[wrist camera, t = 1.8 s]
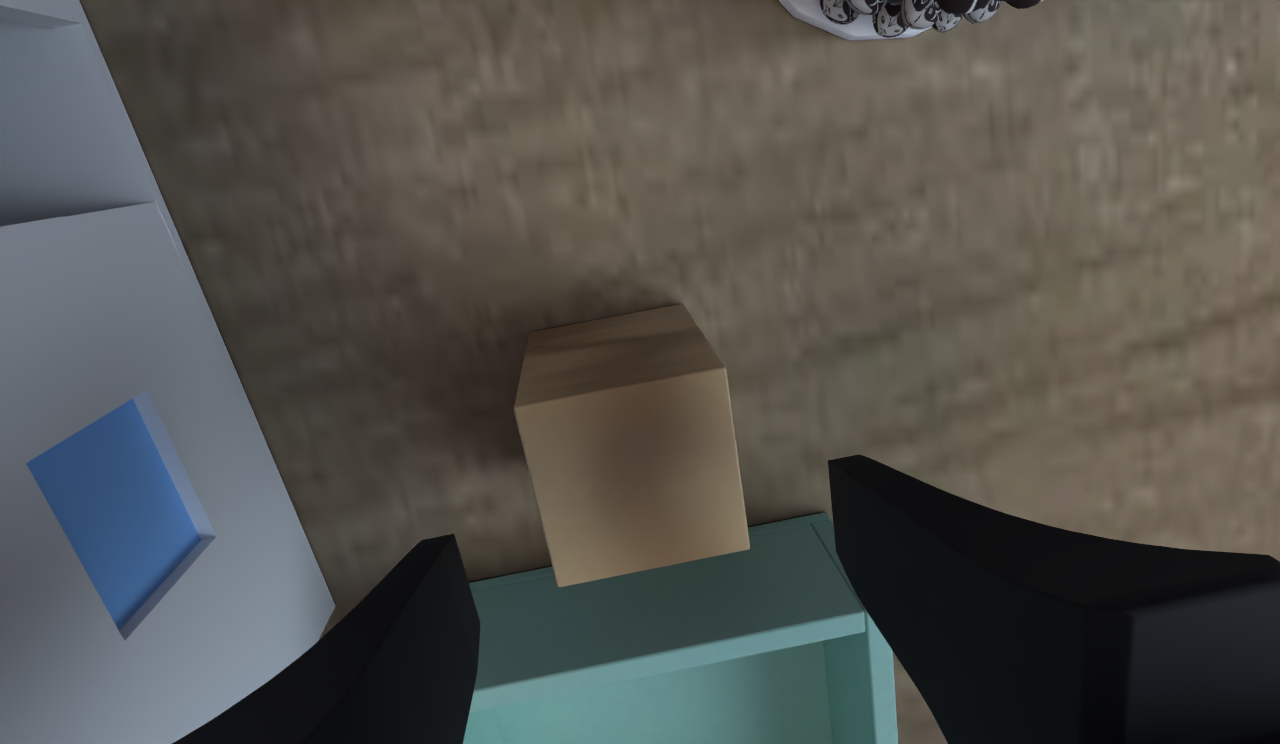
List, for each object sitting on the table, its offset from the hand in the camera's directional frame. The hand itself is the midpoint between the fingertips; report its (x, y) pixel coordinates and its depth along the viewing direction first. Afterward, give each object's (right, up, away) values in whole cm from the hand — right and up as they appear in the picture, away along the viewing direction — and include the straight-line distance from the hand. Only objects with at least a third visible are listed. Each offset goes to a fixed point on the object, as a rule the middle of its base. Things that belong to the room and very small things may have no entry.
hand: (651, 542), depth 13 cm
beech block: (-1, +3, +8) cm, 8 cm away
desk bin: (+1, -8, +12) cm, 14 cm away
